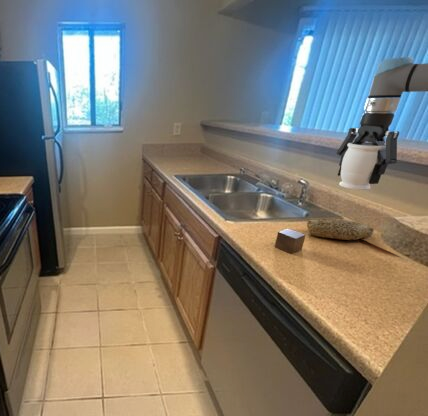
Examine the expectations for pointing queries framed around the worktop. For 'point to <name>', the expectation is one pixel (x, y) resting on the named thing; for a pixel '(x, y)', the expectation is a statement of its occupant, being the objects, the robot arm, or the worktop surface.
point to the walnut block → (290, 241)
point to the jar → (359, 165)
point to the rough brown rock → (339, 229)
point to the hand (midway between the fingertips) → (356, 179)
